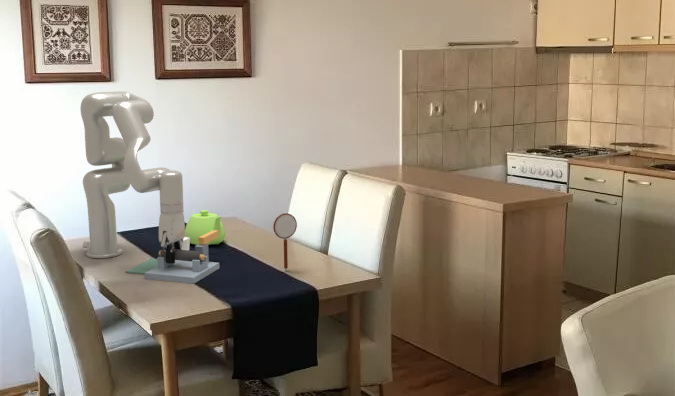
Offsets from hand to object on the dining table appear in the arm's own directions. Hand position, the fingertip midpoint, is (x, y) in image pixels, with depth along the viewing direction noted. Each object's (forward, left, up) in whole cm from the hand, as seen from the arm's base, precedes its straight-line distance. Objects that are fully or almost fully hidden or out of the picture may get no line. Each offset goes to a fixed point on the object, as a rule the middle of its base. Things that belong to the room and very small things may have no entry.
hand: (173, 260), depth 250 cm
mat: (-12, +3, -4) cm, 13 cm away
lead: (+3, 0, 0) cm, 3 cm away
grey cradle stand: (+3, 0, -4) cm, 5 cm away
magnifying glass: (+35, +13, -4) cm, 38 cm away
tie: (+7, +12, +4) cm, 15 cm away
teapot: (-8, +38, -4) cm, 39 cm away
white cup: (-8, +18, -4) cm, 20 cm away
